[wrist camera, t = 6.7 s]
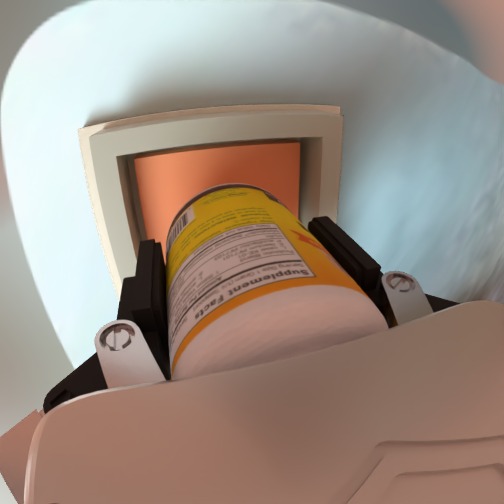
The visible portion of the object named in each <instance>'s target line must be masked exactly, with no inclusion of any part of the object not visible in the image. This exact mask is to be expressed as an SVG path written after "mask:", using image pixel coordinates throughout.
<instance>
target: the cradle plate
mask: <svg viewBox="0 0 504 504" xmlns="http://www.w3.org/2000/svg"><path fill="white" fill-rule="evenodd" d="M134 163H135V170H136V177H137V183H138V190H139V196H140V201H141V207H142V213H143V218H144V223H145V229H146V234H147V239H148V240H150V239H155V242H161V246H162V251H163V256H164V261H165V266H166V240H167V235H168V231H169V228H170V225H171V223H172V221H173V219H174V217H175V215H176V214H177V212H178V211H179V210H180V209H181V207H182V206H183V205H184V204H185V203H186V202H187V201H188V200H190V199H191V198H192V197H194V196H195V195H196V194H198V193H200V192H202V191H203V190H205V189H208V188H210V187H213V186H216V185H220V184H226V183H244V184H250V185H254V186H257V187H259V188H262V189H264V190H266V191H268V192H269V193H271V194H272V195H274V196H275V197H276V198H277V199H278V200H280V202H282V203H283V204H284V205H285V206H286V207H287V208H288V209H289V210H290V211H291V213H292V214H293V215H294V216H295V217H296V218H297V219H298V202H299V171H300V143H299V142H297V141H295V140H293V139H288V140H266V141H249V142H236V143H224V144H213V145H204V146H195V147H186V148H178V149H171V150H164V151H157V152H150V153H144V154H138V155H136V157H135V158H134Z"/></svg>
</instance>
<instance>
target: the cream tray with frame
mask: <svg viewBox="0 0 504 504" xmlns="http://www.w3.org/2000/svg"><path fill="white" fill-rule="evenodd" d="M343 118H344V115H340V107H339V106H333V105H311V104H257V105H234V106H219V107H206V108H196V109H186V110H177V111H169V112H162V113H155V114H149V115H142V116H136V117H131V118H125V119H120V120H115V121H110V122H105V123H100V124H96V125H91V126H87V127H83V128H80V129H78V135H79V142H80V148H81V154H82V160H83V166H84V171H85V177H86V182H87V187H88V191H89V196H90V201H91V205H92V209H93V214H94V218H95V222H96V226H97V230H98V234H99V237H100V241H101V245H102V248H103V252H104V255H105V259H106V262H107V265H108V269H109V272H110V275H111V278H112V281H113V284H114V288H115V291H116V293H117V296H118V299H119V301H120V295H121V289H122V283H123V279H124V278H125V277H132V276H135V272H136V264H137V257H138V251H139V244H140V241H144V240H148V239H147V234H146V229H145V223H144V218H143V213H142V207H141V201H140V196H139V190H138V183H137V177H136V170H135V163H134V158H135V157H136V155H138V154H144V153H150V152H157V151H164V150H171V149H178V148H186V147H195V146H204V145H213V144H224V143H236V142H249V141H266V140H288V139H293V140H295V141H297V142H299V143H300V171H299V202H298V220H299V221H300V222H301V223H302V224H303V225H304V226H305V227H306V228H307V229H308V222H309V221H312V218H313V217H321V216H328V217H329V218H330V219H331V220H332V221H333V222H334V223H335V224H336V219H337V209H338V199H339V187H340V174H341V159H342V141H343Z"/></svg>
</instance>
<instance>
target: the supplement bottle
mask: <svg viewBox="0 0 504 504" xmlns="http://www.w3.org/2000/svg"><path fill="white" fill-rule="evenodd" d="M165 274H166V304H167V324H168V341H169V357H170V368H171V380H173V379H180V378H187V377H193V376H199V375H205V374H211V373H217V372H222V371H228V370H233V369H238V368H243V367H248V366H253V365H257V364H262V363H266V362H271V361H275V360H280V359H284V358H288V357H292V356H296V355H300V354H304V353H308V352H312V351H316V350H320V349H323V348H327V347H330V346H334V345H338V344H341V343H345V342H348V341H351V340H355V339H358V338H361V337H364V336H368V335H371V334H374V333H377V332H380V331H383V330H386V329H389V328H388V325H387V322H386V320H385V318H384V316H383V315H382V314H381V312H380V311H379V309H378V308H377V307H376V306H375V304H374V303H373V302H372V301H371V299H370V298H369V297H368V296H367V295H366V294H365V293H364V291H363V290H362V289H361V288H360V287H359V286H358V285H357V283H356V282H355V281H354V280H353V279H352V278H351V277H350V275H349V274H348V273H347V272H346V271H345V270H344V269H343V268H342V267H341V265H340V264H339V263H338V262H337V261H336V260H335V259H334V258H333V257H332V255H331V254H330V253H329V252H328V251H327V250H326V249H325V248H324V247H323V246H322V244H321V243H320V242H319V241H318V240H317V239H316V238H315V237H314V236H313V235H312V234H311V233H310V232H309V230H308V229H307V228H306V227H305V226H304V225H303V224H302V223H301V222H300V221H299V220H298V219H297V218H296V217H295V216H294V215H293V214H292V213H291V211H290V210H289V209H288V208H287V207H286V206H285V205H284V204H283V203H282V202H280V200H278V199H277V198H276V197H275V196H274V195H272V194H271V193H269V192H268V191H266V190H264V189H262V188H259V187H257V186H254V185H250V184H244V183H226V184H220V185H216V186H213V187H210V188H208V189H205V190H203V191H202V192H200V193H198V194H196V195H195V196H194V197H192V198H191V199H190V200H188V201H187V202H186V203H185V204H184V205H183V206H182V207H181V209H180V210H179V211H178V212H177V214H176V215H175V217H174V219H173V221H172V223H171V225H170V228H169V231H168V235H167V240H166V270H165Z"/></svg>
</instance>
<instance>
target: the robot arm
mask: <svg viewBox="0 0 504 504" xmlns="http://www.w3.org/2000/svg"><path fill="white" fill-rule="evenodd" d="M308 230H309V232H310V233H311V234H312V235H313V236H314V237H315V238H316V239H317V240H318V241H319V242H320V243H321V244H322V246H323V247H324V248H325V249H326V250H327V251H328V252H329V253H330V254H331V255H332V257H333V258H334V259H335V260H336V261H337V262H338V263H339V264H340V265H341V267H342V268H343V269H344V270H345V271H346V272H347V273H348V274H349V275H350V277H351V278H352V279H353V280H354V281H355V282H356V283H357V285H358V286H359V287H360V288H361V289H362V290H363V291H364V293H365V294H366V295H367V296H368V297H369V298H370V299H371V301H372V302H373V303H374V304H375V306H376V307H377V308H378V309H379V311H380V312H381V314H382V315H383V316H384V318H385V320H386V322H387V325H388V328H389V329H386V330H383V331H380V332H377V333H374V334H371V335H368V336H364V337H361V338H358V339H355V340H351V341H348V342H345V343H341V344H338V345H334V346H330V347H327V348H323V349H320V350H316V351H312V352H308V353H304V354H300V355H296V356H292V357H288V358H284V359H280V360H275V361H271V362H266V363H262V364H257V365H253V366H248V367H243V368H238V369H233V370H228V371H222V372H217V373H211V374H205V375H199V376H193V377H187V378H180V379H173V380H171V368H170V357H169V341H168V324H167V304H166V274H165V270H166V266H165V261H164V256H163V251H162V246H161V242H155V239H150V240H144V241H140V244H139V251H138V257H137V264H136V272H135V276H132V277H125V278H124V279H123V283H122V289H121V295H120V301H119V308H118V315H117V320H116V321H112V322H110V323H108V324H106V325H104V326H103V327H102V328H101V329H100V330H99V331H98V332H97V334H96V336H95V347H96V351H97V352H96V353H95V354H94V355H92V356H91V357H90V358H89V359H88V360H86V361H85V362H84V363H83V364H81V365H80V366H79V367H78V368H77V369H75V370H74V371H73V372H72V373H71V374H69V375H68V376H67V377H66V378H65V379H63V380H62V381H61V382H60V383H58V384H57V385H56V386H55V387H54V388H53V389H51V391H50V392H49V393H48V394H47V396H46V397H45V400H44V404H43V409H42V410H41V411H40V412H38V410H37V409H36V410H35V411H33V412H32V413H31V414H29V415H28V416H27V417H26V418H24V419H23V420H22V421H21V422H19V423H18V424H17V425H15V426H14V427H13V428H11V429H10V430H9V431H8V432H7V433H5V434H4V435H2V436H1V437H0V473H1V474H2V476H3V478H4V480H5V482H6V484H7V486H8V487H9V489H10V491H11V493H12V494H13V496H14V498H15V499H16V501H17V503H18V504H504V305H503V304H501V303H499V302H494V301H480V300H479V301H471V302H466V303H462V304H460V303H456V302H452V301H449V300H445V299H442V298H438V297H435V296H431V295H428V294H424V292H423V290H422V288H421V286H420V285H419V283H418V281H417V280H416V279H415V278H414V277H413V276H411V275H409V274H407V273H404V272H401V271H389V272H387V273H385V274H383V273H382V272H381V271H380V269H381V266H380V265H379V264H378V263H377V262H376V261H375V260H374V259H373V258H372V257H371V256H370V255H369V254H368V253H367V252H365V251H364V250H363V249H362V248H361V247H360V246H359V245H358V244H357V243H356V242H355V241H354V240H353V239H352V238H351V237H350V236H348V235H347V234H346V233H345V232H344V231H343V230H342V229H341V228H340V227H339V226H338V225H337V224H335V223H334V222H333V221H332V220H331V219H330V218H329V217H328V216H321V217H313V218H312V221H309V222H308Z"/></svg>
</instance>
